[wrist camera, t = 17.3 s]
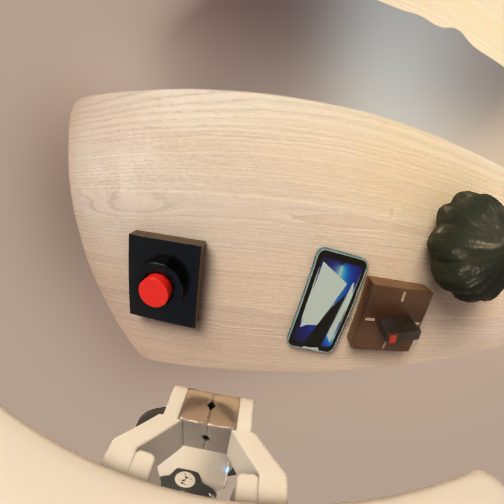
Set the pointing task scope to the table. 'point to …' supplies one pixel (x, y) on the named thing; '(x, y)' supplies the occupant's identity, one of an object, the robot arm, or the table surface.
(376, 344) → the dial panel
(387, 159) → the table surface
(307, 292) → the smartphone
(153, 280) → the light button
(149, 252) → the switch box
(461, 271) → the squash
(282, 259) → the table surface
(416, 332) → the dial knob
